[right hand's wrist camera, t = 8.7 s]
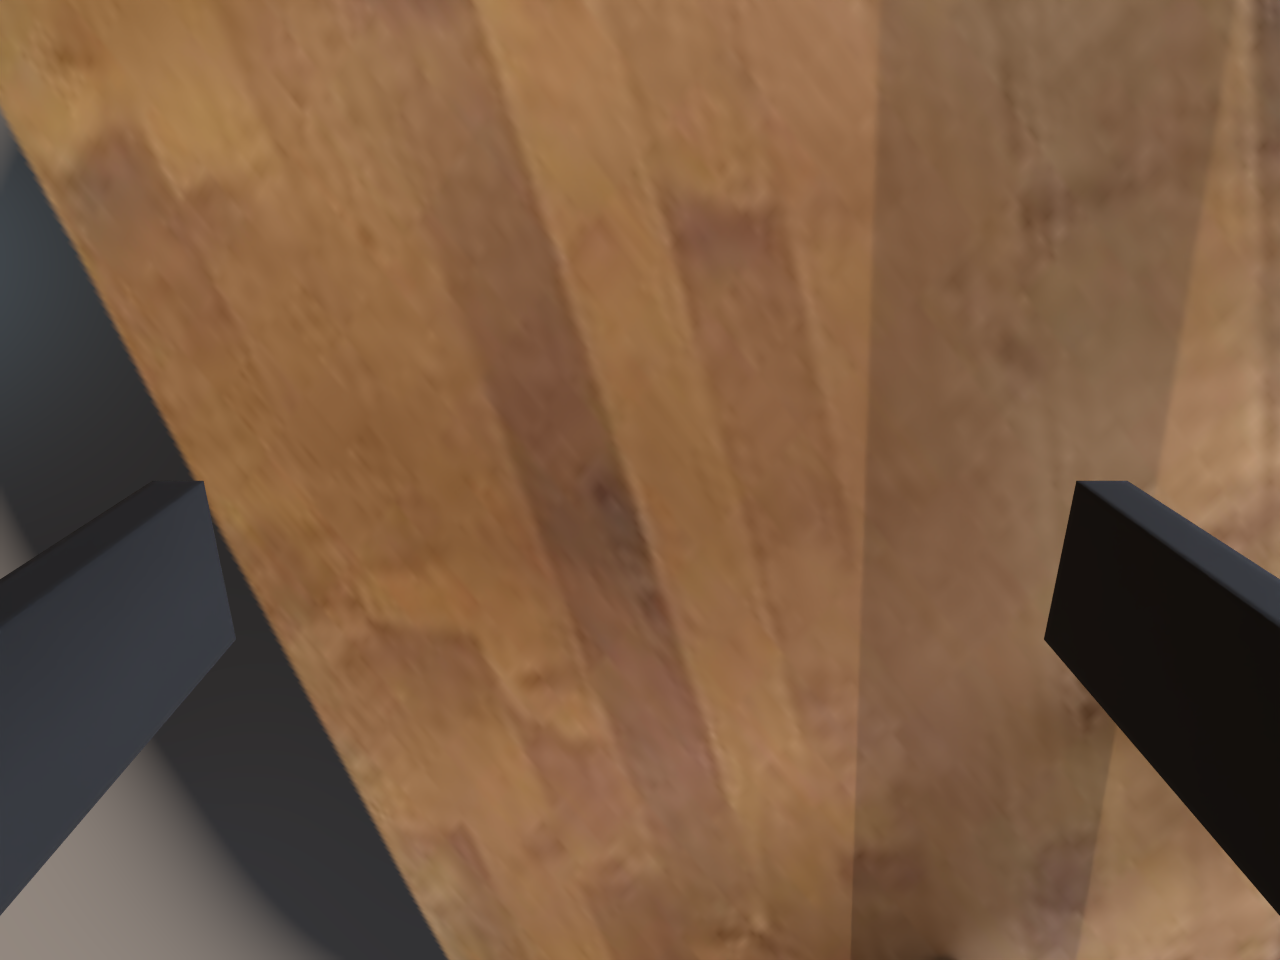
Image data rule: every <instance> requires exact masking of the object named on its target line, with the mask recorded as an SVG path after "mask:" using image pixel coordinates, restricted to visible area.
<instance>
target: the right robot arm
mask: <svg viewBox="0 0 1280 960" xmlns="http://www.w3.org/2000/svg"><path fill="white" fill-rule="evenodd" d="M235 640H236V637H235V632H234V627H233V623H232V617H231V613H230V608H229V603H228V598H227V593H226V588H225V583H224V579H223V574H222V569H221V564H220V559H219V554H218V549H217V544H216V539H215V535H214V530H213V525H212V520H211V515H210V510H209V505H208V500H207V496H206V491H205V486H204V481H152V482H150V483H149V484H147V485H146V486H144V487H142V488H141V489H139V490H138V491H136V492H135V493H133V494H132V495H130V496H128V497H127V498H125V499H124V500H122V501H121V502H119V503H118V504H116V505H115V506H113V507H111V508H110V509H108V510H107V511H105V512H104V513H102V514H101V515H99V516H98V517H96V518H94V519H93V520H91V521H90V522H88V523H87V524H85V525H84V526H82V527H81V528H79V529H77V530H76V531H74V532H73V533H71V534H70V535H68V536H67V537H65V538H64V539H62V540H60V541H59V542H57V543H56V544H54V545H53V546H51V547H50V548H48V549H46V550H45V551H43V552H42V553H40V554H39V555H37V556H36V557H34V558H33V559H31V560H30V561H28V562H26V563H25V564H23V565H22V566H20V567H19V568H17V569H16V570H14V571H13V572H11V573H9V574H8V575H6V576H5V577H3V578H2V579H0V915H1V914H2V913H3V912H4V911H5V909H6V908H7V907H8V906H9V905H10V903H11V902H12V901H13V900H14V899H15V898H16V896H17V895H18V894H19V893H20V892H21V891H22V889H23V888H24V887H25V886H26V885H27V884H28V882H29V881H30V880H31V879H32V878H33V877H34V875H35V874H36V873H37V872H38V871H39V870H40V868H41V867H42V866H43V865H44V864H45V863H46V861H47V860H48V859H49V858H50V857H51V855H52V854H53V853H54V852H55V851H56V850H57V848H58V847H59V846H60V845H61V844H62V843H63V841H64V840H65V839H66V838H67V837H68V835H69V834H70V833H71V832H72V831H73V830H74V829H75V827H76V826H77V825H78V824H79V823H80V822H81V820H82V819H83V818H84V817H85V816H86V814H87V813H88V812H89V811H90V810H91V808H92V807H93V806H94V805H95V804H96V803H97V802H98V800H99V799H100V798H101V797H102V796H103V795H104V793H105V792H106V791H107V790H108V789H109V787H110V786H111V785H112V784H113V783H114V782H115V780H116V779H117V778H118V777H119V776H120V775H121V773H122V772H123V771H124V770H125V769H126V768H127V766H128V765H129V764H130V763H131V762H132V760H133V759H134V758H135V757H136V756H137V755H138V754H139V752H140V751H141V750H142V749H143V748H144V747H145V745H146V744H147V743H148V742H149V741H150V739H151V738H152V737H153V736H154V735H155V734H156V732H157V731H158V730H159V729H160V728H161V727H162V725H163V724H164V723H165V722H166V721H167V720H168V718H169V717H170V716H171V715H172V714H173V713H174V711H175V710H176V709H177V708H178V707H179V706H180V704H181V703H182V702H183V701H184V700H185V698H186V697H187V696H188V695H189V694H190V693H191V691H192V690H193V689H194V688H195V687H196V686H197V684H198V683H199V682H200V681H201V680H202V679H203V677H204V676H205V675H206V674H207V673H208V672H209V670H210V669H211V668H212V667H213V666H214V664H215V663H216V662H217V661H218V660H219V659H220V657H221V656H222V655H223V654H224V653H225V652H226V650H227V649H228V648H229V647H230V646H231V645H232V643H233V642H234V641H235ZM1044 640H1045V641H1046V642H1047V643H1048V645H1049V646H1050V647H1051V648H1052V649H1053V650H1054V652H1055V653H1056V654H1057V655H1058V656H1059V657H1060V659H1061V660H1062V661H1063V662H1064V663H1065V664H1066V666H1067V667H1068V668H1069V669H1070V670H1071V672H1072V673H1073V674H1074V675H1075V676H1076V677H1077V679H1078V680H1079V681H1080V682H1081V683H1082V684H1083V686H1084V687H1085V688H1086V689H1087V690H1088V691H1089V693H1090V694H1091V695H1092V696H1093V697H1094V698H1095V700H1096V701H1097V702H1098V703H1099V704H1100V706H1101V707H1102V708H1103V709H1104V710H1105V711H1106V713H1107V714H1108V715H1109V716H1110V717H1111V718H1112V720H1113V721H1114V722H1115V723H1116V724H1117V725H1118V727H1119V728H1120V729H1121V730H1122V731H1123V732H1124V734H1125V735H1126V736H1127V737H1128V738H1129V739H1130V741H1131V742H1132V743H1133V744H1134V745H1135V747H1136V748H1137V749H1138V750H1139V751H1140V752H1141V754H1142V755H1143V756H1144V757H1145V758H1146V759H1147V761H1148V762H1149V763H1150V764H1151V765H1152V766H1153V768H1154V769H1155V770H1156V771H1157V772H1158V773H1159V775H1160V776H1161V777H1162V778H1163V779H1164V780H1165V782H1166V783H1167V784H1168V785H1169V786H1170V788H1171V789H1172V790H1173V791H1174V792H1175V793H1176V795H1177V796H1178V797H1179V798H1180V799H1181V800H1182V802H1183V803H1184V804H1185V805H1186V806H1187V807H1188V809H1189V810H1190V811H1191V812H1192V813H1193V814H1194V816H1195V817H1196V818H1197V819H1198V820H1199V822H1200V823H1201V824H1202V825H1203V826H1204V827H1205V829H1206V830H1207V831H1208V832H1209V833H1210V834H1211V836H1212V837H1213V838H1214V839H1215V840H1216V841H1217V843H1218V844H1219V845H1220V846H1221V847H1222V848H1223V850H1224V851H1225V852H1226V853H1227V854H1228V855H1229V857H1230V858H1231V859H1232V860H1233V861H1234V863H1235V864H1236V865H1237V866H1238V867H1239V868H1240V870H1241V871H1242V872H1243V873H1244V874H1245V875H1246V877H1247V878H1248V879H1249V880H1250V881H1251V882H1252V884H1253V885H1254V886H1255V887H1256V888H1257V889H1258V891H1259V892H1260V893H1261V894H1262V895H1263V896H1264V898H1265V899H1266V900H1267V901H1268V902H1269V904H1270V905H1271V906H1272V907H1273V908H1274V909H1275V911H1276V912H1277V913H1278V914H1279V915H1280V579H1278V578H1277V577H1275V576H1274V575H1272V574H1271V573H1269V572H1268V571H1266V570H1264V569H1263V568H1261V567H1260V566H1258V565H1257V564H1255V563H1254V562H1252V561H1251V560H1249V559H1247V558H1246V557H1244V556H1243V555H1241V554H1240V553H1238V552H1237V551H1235V550H1234V549H1232V548H1230V547H1229V546H1227V545H1226V544H1224V543H1223V542H1221V541H1220V540H1218V539H1216V538H1215V537H1213V536H1212V535H1210V534H1209V533H1207V532H1206V531H1204V530H1203V529H1201V528H1199V527H1198V526H1196V525H1195V524H1193V523H1192V522H1190V521H1189V520H1187V519H1186V518H1184V517H1182V516H1181V515H1179V514H1178V513H1176V512H1175V511H1173V510H1172V509H1170V508H1169V507H1167V506H1165V505H1164V504H1162V503H1161V502H1159V501H1158V500H1156V499H1155V498H1153V497H1152V496H1150V495H1148V494H1147V493H1145V492H1144V491H1142V490H1141V489H1139V488H1138V487H1136V486H1134V485H1133V484H1131V483H1130V482H1128V481H1076V486H1075V491H1074V496H1073V500H1072V505H1071V510H1070V515H1069V520H1068V525H1067V530H1066V535H1065V539H1064V544H1063V549H1062V554H1061V559H1060V564H1059V569H1058V574H1057V578H1056V583H1055V588H1054V593H1053V598H1052V603H1051V608H1050V613H1049V617H1048V622H1047V627H1046V632H1045V637H1044Z"/></svg>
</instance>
